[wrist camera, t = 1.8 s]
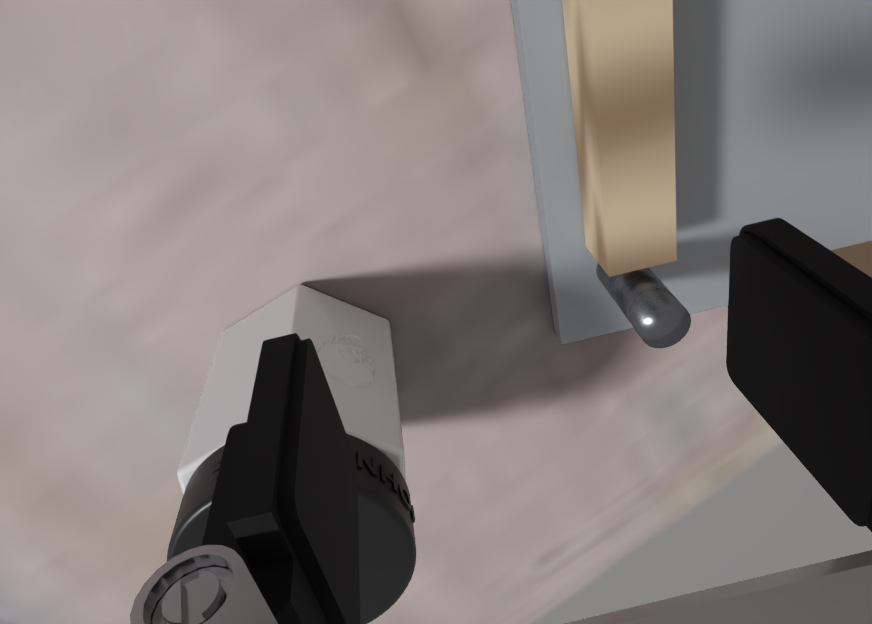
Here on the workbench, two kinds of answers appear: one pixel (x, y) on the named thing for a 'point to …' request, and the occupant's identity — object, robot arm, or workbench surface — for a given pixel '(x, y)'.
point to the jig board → (716, 143)
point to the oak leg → (624, 128)
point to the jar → (359, 411)
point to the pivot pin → (648, 306)
